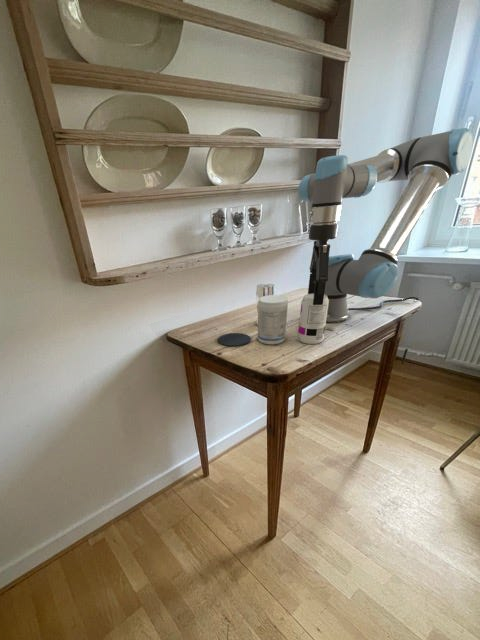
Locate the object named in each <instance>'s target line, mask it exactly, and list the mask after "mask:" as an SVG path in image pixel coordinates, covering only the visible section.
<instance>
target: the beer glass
mask: <svg viewBox="0 0 480 640" xmlns="http://www.w3.org/2000/svg"><path fill="white" fill-rule="evenodd" d="M255 291H256V292H255V304H256V305H255V306H256V311H257V313H258V303H259V299H260V298H261V297H263V296H268V295H275V284H273V283H260V284H257V285H256V290H255ZM256 325H257V326H258V317H257V319H256Z"/></svg>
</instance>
